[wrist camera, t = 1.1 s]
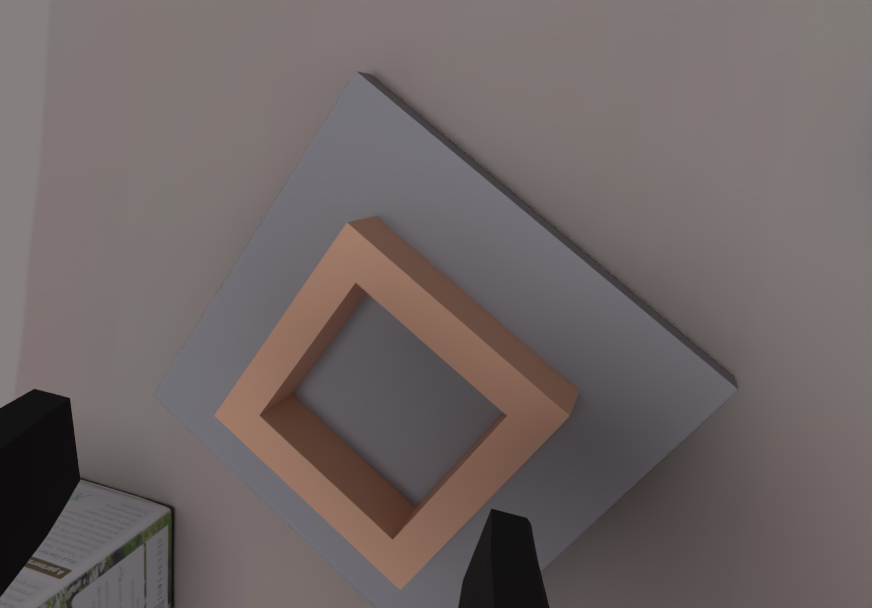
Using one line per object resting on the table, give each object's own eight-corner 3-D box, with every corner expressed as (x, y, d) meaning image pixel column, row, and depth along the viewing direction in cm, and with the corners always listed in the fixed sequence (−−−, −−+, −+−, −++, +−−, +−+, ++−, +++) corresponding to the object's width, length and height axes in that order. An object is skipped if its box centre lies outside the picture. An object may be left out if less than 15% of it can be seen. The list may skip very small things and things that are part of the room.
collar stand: (735, 378, 19) (745, 416, 17) (446, 647, 24) (417, 710, 22) (370, 74, 21) (323, 63, 18) (170, 387, 26) (111, 415, 23)
